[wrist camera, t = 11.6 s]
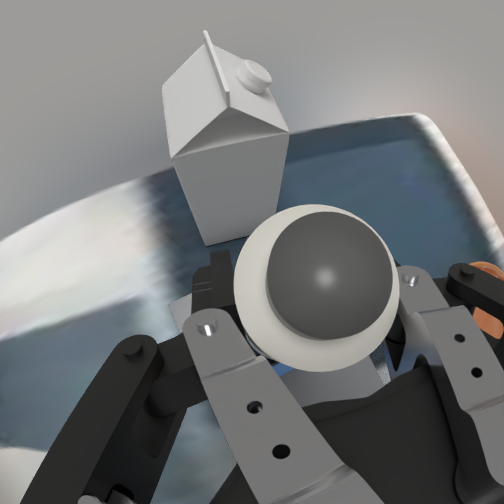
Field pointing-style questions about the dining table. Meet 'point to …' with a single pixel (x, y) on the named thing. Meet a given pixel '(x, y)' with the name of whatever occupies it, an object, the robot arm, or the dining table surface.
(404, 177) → the dining table surface
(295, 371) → the block with square holes
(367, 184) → the dining table surface
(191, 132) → the milk carton
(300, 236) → the capped white bottle
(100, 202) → the dining table surface
